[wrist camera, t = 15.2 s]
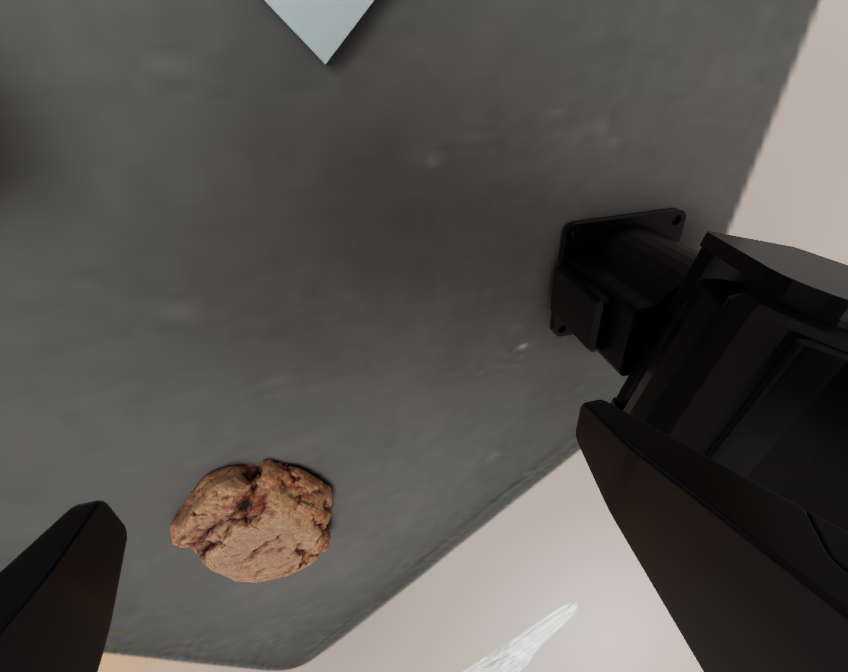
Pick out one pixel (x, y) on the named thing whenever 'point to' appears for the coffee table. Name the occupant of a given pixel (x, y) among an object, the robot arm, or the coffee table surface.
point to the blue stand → (321, 21)
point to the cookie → (256, 521)
